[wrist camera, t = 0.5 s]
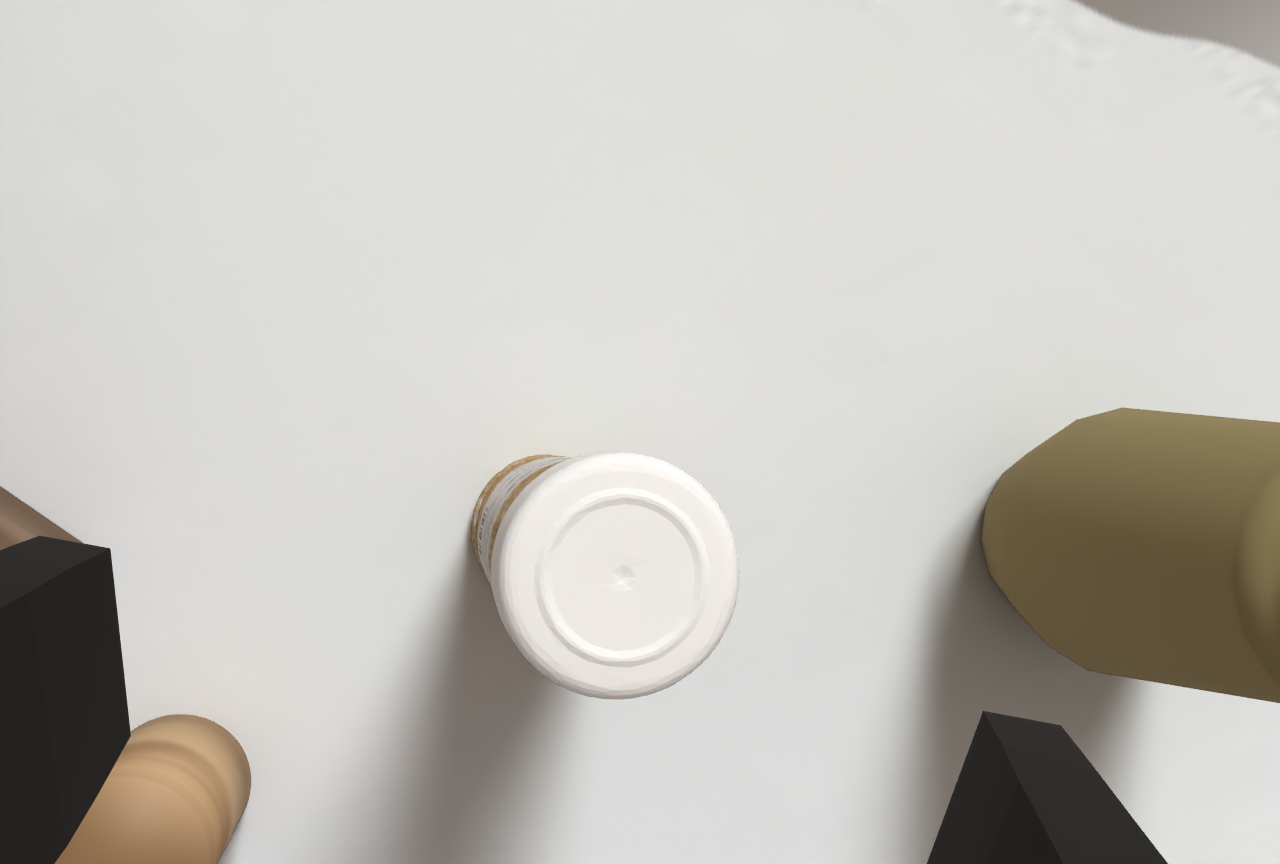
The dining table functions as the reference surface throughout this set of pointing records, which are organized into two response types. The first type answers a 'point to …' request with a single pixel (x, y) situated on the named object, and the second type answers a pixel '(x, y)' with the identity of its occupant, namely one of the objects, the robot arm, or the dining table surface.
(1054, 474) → the squeeze bottle
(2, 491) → the cup bracket
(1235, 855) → the dining table surface
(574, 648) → the sprinkles bottle
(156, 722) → the oak peg
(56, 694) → the robot arm
